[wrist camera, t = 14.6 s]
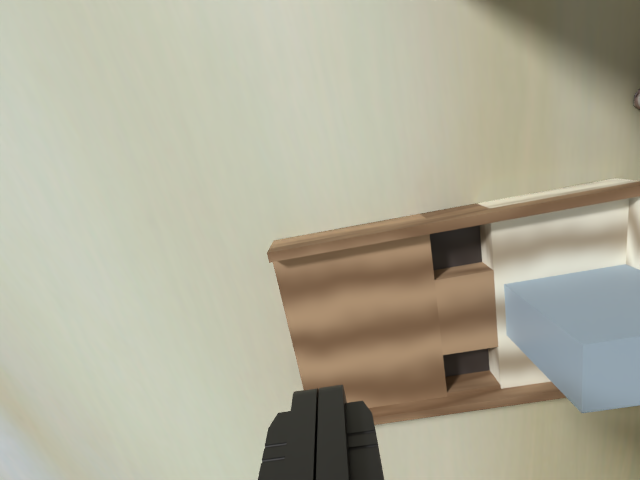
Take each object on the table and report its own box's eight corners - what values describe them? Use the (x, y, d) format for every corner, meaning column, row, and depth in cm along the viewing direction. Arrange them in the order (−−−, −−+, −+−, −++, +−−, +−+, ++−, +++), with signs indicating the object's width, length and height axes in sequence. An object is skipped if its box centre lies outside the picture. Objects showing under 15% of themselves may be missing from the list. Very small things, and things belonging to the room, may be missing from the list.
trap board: (273, 240, 37) (267, 252, 32) (614, 178, 34) (656, 182, 30) (313, 404, 42) (311, 433, 38) (607, 360, 40) (641, 386, 36)
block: (504, 284, 34) (582, 344, 24) (625, 264, 34) (762, 317, 23) (506, 335, 36) (581, 413, 25) (622, 317, 35) (750, 390, 25)
